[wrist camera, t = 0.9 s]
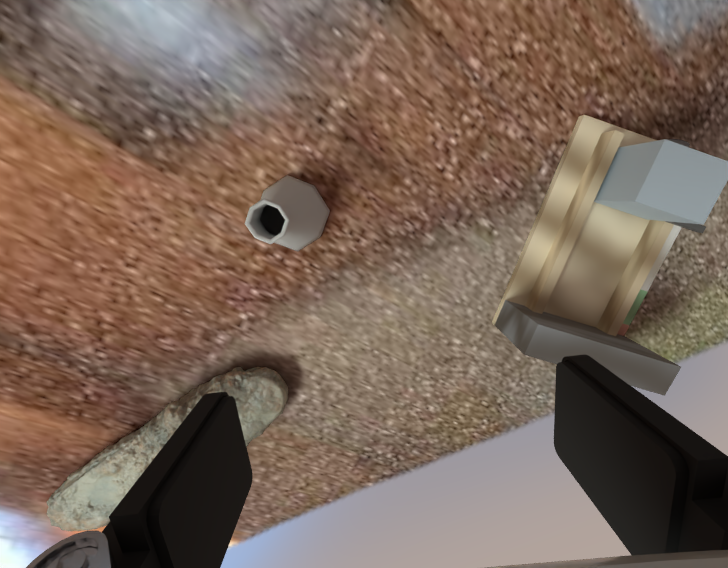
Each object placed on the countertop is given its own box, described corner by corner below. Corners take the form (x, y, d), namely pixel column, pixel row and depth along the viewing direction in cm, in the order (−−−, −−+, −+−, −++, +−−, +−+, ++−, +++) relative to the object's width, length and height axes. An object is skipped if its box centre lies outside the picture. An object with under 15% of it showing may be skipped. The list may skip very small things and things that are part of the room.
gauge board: (579, 116, 33) (644, 93, 26) (707, 161, 35) (807, 152, 27) (491, 322, 39) (524, 354, 31) (605, 356, 40) (664, 395, 32)
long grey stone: (48, 472, 45) (106, 519, 48) (9, 510, 40) (76, 560, 43) (255, 337, 39) (309, 400, 41) (238, 363, 34) (301, 432, 36)
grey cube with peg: (617, 136, 33) (672, 124, 27) (710, 169, 34) (782, 164, 28) (588, 200, 34) (634, 201, 29) (678, 230, 35) (741, 237, 29)
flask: (342, 209, 36) (335, 215, 26) (299, 262, 37) (277, 287, 27) (286, 161, 34) (256, 149, 25) (243, 218, 36) (199, 227, 26)
